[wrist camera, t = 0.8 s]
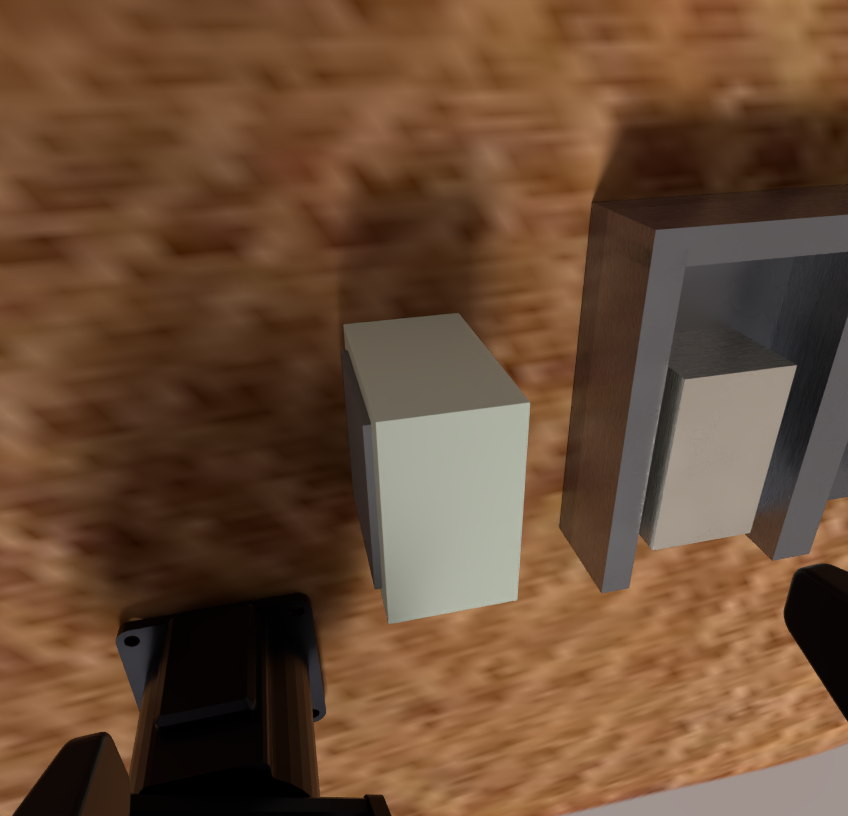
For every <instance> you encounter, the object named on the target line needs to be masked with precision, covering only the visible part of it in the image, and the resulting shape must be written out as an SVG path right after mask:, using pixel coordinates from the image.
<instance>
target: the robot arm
mask: <svg viewBox="0 0 848 816" xmlns="http://www.w3.org/2000/svg"><path fill="white" fill-rule="evenodd" d="M296 606H301V608H298V609H293V607H296ZM784 620H785V623H786V626H787V628H788V630H789V632H790V633H791V635H792V636H793V638H794V639H795V641H796V643H797V644H798V646H799V647H800V649H801V650H802V652H803V653H804V655H805V657H806V658H807V660H808V661H809V663H810V664H811V666H812V667H813V669H814V671H815V672H816V674H817V675H818V677H819V678H820V680H821V681H822V683H823V685H824V686H825V688H826V689H827V691H828V692H829V694H830V695H831V697H832V698H833V700H834V702H835V703H836V705H837V706H838V708H839V709H840V711H841V712H842V714H843V716H844V717H845V718H846V720H847V721H848V572H847V571H845V570H843V569H840V568H838V567H835V566H833V565H830V564H823V563H822V564H816V565H812V566H807V567H803V568H800V569H798V570H797V571H796V572H795V573H794V575H793V578H792V581H791V585H790V589H789V592H788V596H787V600H786V604H785V607H784ZM128 636H136V638H131V637H128ZM116 645H117V648H118V651H119V654H120V657H121V659H122V662H123V665H124V668H125V671H126V674H127V677H128V680H129V682H130V685H131V688H132V691H133V694H134V697H135V700H136V703H137V705H138V708H139V711H140V714H139V720H138V726H137V732H136V737H135V743H134V749H133V754H132V760H131V766H130V772H129V777H128V773H127V771H126V769H125V766H124V764H123V762H122V759H121V757H120V755H119V752H118V750H117V748H116V746H115V743H114V741H113V739H112V737H111V736H110V735H109V734H108V733H106V732H99V733H94V734H90V735H86V736H81V737H77V738H74V739H71V740H70V741H68V742H67V743H66V744H65V745H64V746H63V747H62V749H61V750H60V751H59V753H58V754H57V755H56V757H55V758H54V759H53V761H52V762H51V763H50V765H49V766H48V768H47V769H46V770H45V772H44V773H43V774H42V776H41V777H40V778H39V780H38V781H37V782H36V784H35V785H34V787H33V788H32V789H31V791H30V792H29V793H28V795H27V796H26V797H25V799H24V800H23V802H22V803H21V804H20V806H19V807H18V808H17V810H16V811H15V812H14V814H13V815H12V816H391V814H390V811H389V809H388V806H387V804H386V801H385V799H384V796H383V795H365V796H364V798H348V797H320V790H319V779H318V767H317V756H316V745H315V733H314V722H316V721H319V720H320V719H322V718H323V717H324V716H325V714H326V707H325V699H324V691H323V684H322V677H321V670H320V663H319V656H318V648H317V641H316V634H315V627H314V620H313V612H312V605H311V600H310V598H309V597H308V596H307V595H306V594H303V593H292V594H287V595H281V596H275V597H269V598H264V599H258V600H252V601H246V602H241V603H235V604H229V605H224V606H218V607H212V608H206V609H201V610H195V611H189V612H183V613H178V614H172V615H166V616H160V617H155V618H149V619H143V620H138V621H132V622H128V623H125V624H123V625H122V626H121V627H120V628H119V630H118V634H117V638H116Z"/></svg>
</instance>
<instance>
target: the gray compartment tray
mask: <svg viewBox="0 0 848 816" xmlns="http://www.w3.org/2000/svg"><path fill="white" fill-rule="evenodd" d="M843 497H848V185H837V186H822V187H808V188H794V189H779V190H765V191H751V192H736V193H722V194H708V195H693V196H679V197H665V198H650V199H636V200H622V201H607V202H593V203H592V211H591V220H590V230H589V240H588V250H587V260H586V270H585V280H584V290H583V300H582V310H581V320H580V329H579V339H578V349H577V359H576V369H575V379H574V389H573V399H572V409H571V419H570V428H569V438H568V448H567V458H566V468H565V478H564V488H563V498H562V508H561V518H560V527H559V528H560V530H561V531H562V533H563V534H564V536H565V537H566V539H567V541H568V542H569V544H570V545H571V547H572V548H573V550H574V551H575V553H576V555H577V556H578V558H579V559H580V561H581V562H582V564H583V565H584V567H585V568H586V570H587V572H588V573H589V575H590V576H591V578H592V579H593V581H594V582H595V584H596V585H597V587H598V589H599V590H600V592H601V593H606V592H611V591H616V590H621V589H627V588H629V586H630V580H631V574H632V568H633V563H634V557H635V551H636V546H637V540H638V534H640V536H641V537H642V538H643V539H644V541H645V542H646V543H647V544H648V546H649V547H650V548H651V549H652V550H658V549H663V548H669V547H674V546H680V545H685V544H691V543H697V542H702V541H708V540H713V539H719V538H724V537H730V536H735V535H741V534H745V535H746V536H747V537H749V538H750V539H751V540H752V541H753V542H754V543H755V544H756V545H757V546H758V547H759V548H760V549H761V550H762V551H763V552H764V553H765V554H766V555H767V556H768V557H769V558H770V559H771V560H772V561H773V560H779V559H784V558H789V557H794V556H800V555H805V554H809V553H810V550H811V547H812V544H813V541H814V538H815V535H816V532H817V529H818V526H819V523H820V520H821V518H822V515H823V512H824V509H825V506H826V503H827V500H832V499H837V498H843Z"/></svg>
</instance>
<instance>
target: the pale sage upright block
mask: <svg viewBox="0 0 848 816" xmlns="http://www.w3.org/2000/svg"><path fill="white" fill-rule="evenodd" d="M343 328H344V340H345V350H344V351H341V360H342V371H343V383H344V394H345V406H346V417H347V428H348V440H349V451H350V463H351V474H352V485H353V495H354V499H355V504H356V508H357V513H358V517H359V521H360V526H361V530H362V535H363V539H364V544H365V548H366V552H367V557H368V561H369V566H370V570H371V574H372V579H373V583H374V588H375V589H380V590H381V594H382V599H383V603H384V607H385V611H386V616H387V620H388V624H392V623H398V622H403V621H408V620H414V619H419V618H424V617H430V616H435V615H440V614H445V613H451V612H456V611H461V610H467V609H472V608H477V607H483V606H488V605H493V604H499V603H504V602H509V601H515V600H517V595H518V580H519V565H520V549H521V534H522V519H523V504H524V489H525V474H526V458H527V443H528V428H529V413H530V402H529V400H528V399H527V398H526V397H525V395H524V394H523V393H522V392H521V390H520V389H519V388H518V387H517V385H516V384H515V383H514V382H513V380H512V379H511V378H510V377H509V375H508V374H507V373H506V371H505V370H504V369H503V368H502V366H501V365H500V364H499V363H498V361H497V360H496V359H495V358H494V356H493V355H492V354H491V353H490V351H489V350H488V349H487V348H486V346H485V345H484V344H483V343H482V341H481V340H480V339H479V338H478V336H477V335H476V334H475V333H474V331H473V330H472V329H471V328H470V326H469V325H468V324H467V323H466V321H465V320H464V319H463V318H462V316H461V315H460V314H459V313H452V314H442V315H432V316H422V317H412V318H402V319H392V320H382V321H372V322H362V323H352V324H343Z"/></svg>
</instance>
